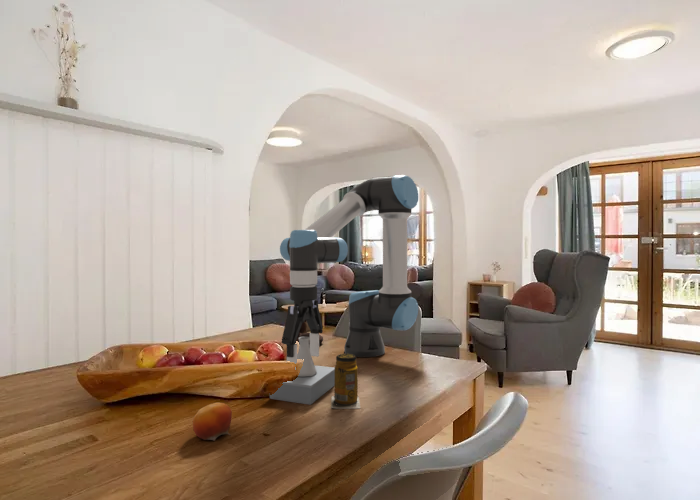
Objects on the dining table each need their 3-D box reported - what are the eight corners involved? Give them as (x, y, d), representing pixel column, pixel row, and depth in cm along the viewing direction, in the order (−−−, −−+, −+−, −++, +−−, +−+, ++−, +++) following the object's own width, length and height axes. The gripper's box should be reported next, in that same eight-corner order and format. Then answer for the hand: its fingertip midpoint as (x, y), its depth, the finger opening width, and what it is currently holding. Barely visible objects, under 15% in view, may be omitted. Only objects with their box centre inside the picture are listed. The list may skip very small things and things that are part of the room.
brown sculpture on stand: (308, 350, 165) (308, 298, 164) (279, 345, 172) (278, 295, 172) (330, 342, 177) (330, 294, 177) (301, 338, 185) (301, 292, 185)
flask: (314, 378, 115) (314, 341, 115) (288, 377, 116) (288, 340, 116) (319, 370, 122) (318, 335, 122) (294, 369, 123) (293, 334, 123)
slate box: (297, 379, 129) (297, 363, 129) (336, 384, 125) (336, 367, 125) (268, 398, 114) (268, 380, 114) (311, 405, 109) (311, 385, 109)
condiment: (358, 396, 115) (358, 352, 115) (360, 409, 107) (360, 361, 107) (331, 397, 115) (331, 352, 115) (331, 409, 107) (331, 361, 107)
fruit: (216, 442, 86) (202, 404, 88) (194, 454, 90) (181, 417, 92) (246, 427, 93) (232, 392, 95) (224, 439, 96) (212, 405, 98)
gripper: (311, 281, 132) (311, 350, 132) (267, 289, 108) (268, 373, 109) (333, 282, 129) (333, 352, 129) (294, 291, 106) (294, 376, 106)
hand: (303, 362), depth 119 cm, fingers open, 13 cm apart
